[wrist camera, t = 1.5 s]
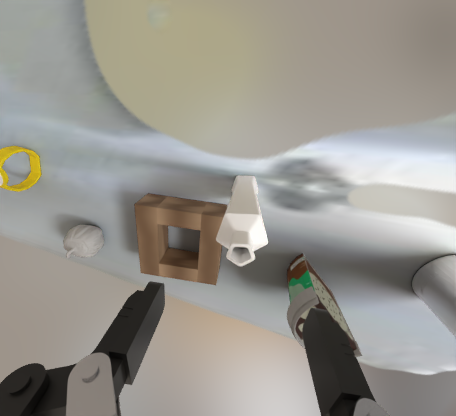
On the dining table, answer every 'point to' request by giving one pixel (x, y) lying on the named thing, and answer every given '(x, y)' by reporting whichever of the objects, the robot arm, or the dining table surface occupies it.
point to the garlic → (83, 241)
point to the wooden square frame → (185, 218)
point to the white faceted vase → (243, 222)
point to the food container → (311, 299)
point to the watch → (1, 155)
